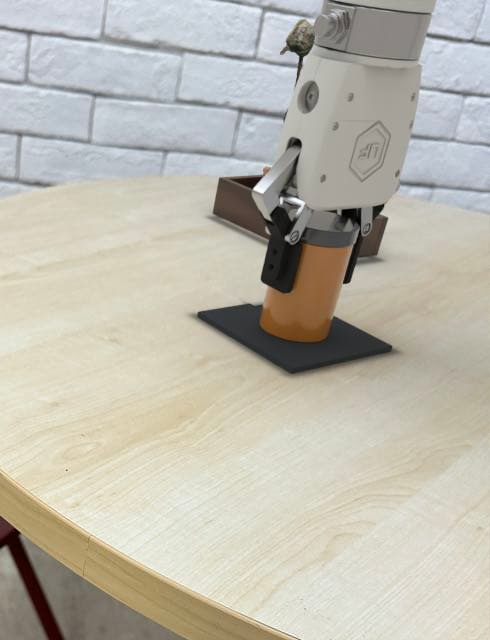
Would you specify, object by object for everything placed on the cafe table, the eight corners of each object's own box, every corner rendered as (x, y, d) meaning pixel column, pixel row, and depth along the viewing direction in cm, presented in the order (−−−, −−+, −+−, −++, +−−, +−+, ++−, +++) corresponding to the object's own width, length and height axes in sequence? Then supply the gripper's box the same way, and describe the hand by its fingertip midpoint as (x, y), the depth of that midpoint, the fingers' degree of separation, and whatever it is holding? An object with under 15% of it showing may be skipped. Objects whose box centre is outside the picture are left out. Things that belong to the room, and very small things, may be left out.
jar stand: (268, 212, 105) (276, 173, 102) (376, 260, 94) (388, 217, 91) (211, 218, 100) (218, 177, 98) (317, 268, 89) (329, 223, 86)
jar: (294, 310, 77) (320, 206, 72) (344, 337, 73) (376, 228, 68) (243, 319, 74) (266, 211, 69) (292, 347, 70) (321, 235, 65)
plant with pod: (321, 209, 109) (368, 29, 97) (235, 193, 111) (270, 15, 99) (328, 195, 115) (373, 24, 103) (246, 180, 117) (281, 11, 105)
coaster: (294, 300, 81) (295, 295, 80) (391, 351, 73) (393, 346, 73) (196, 316, 75) (197, 311, 74) (290, 373, 67) (292, 368, 67)
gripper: (322, 41, 54) (259, 312, 65) (487, 49, 62) (407, 287, 73) (244, 23, 59) (197, 278, 69) (407, 32, 67) (343, 258, 78)
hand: (305, 281), depth 71 cm, fingers closed on jar, 6 cm apart
